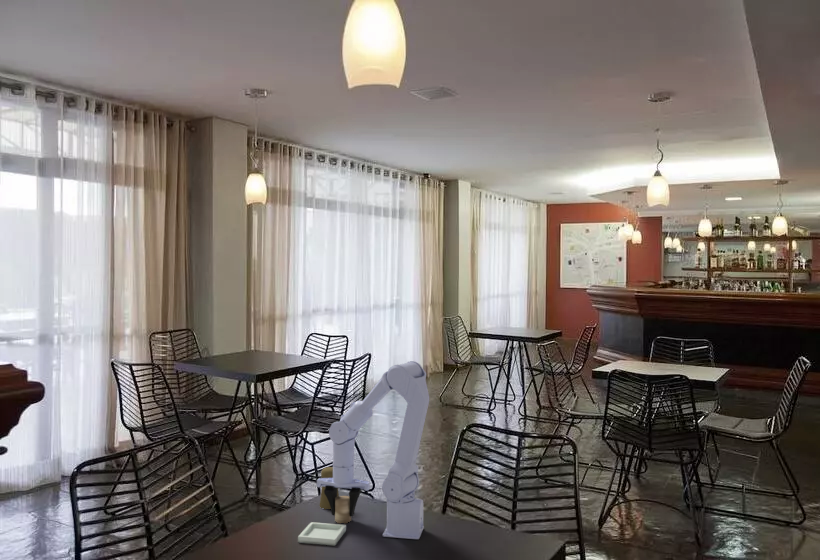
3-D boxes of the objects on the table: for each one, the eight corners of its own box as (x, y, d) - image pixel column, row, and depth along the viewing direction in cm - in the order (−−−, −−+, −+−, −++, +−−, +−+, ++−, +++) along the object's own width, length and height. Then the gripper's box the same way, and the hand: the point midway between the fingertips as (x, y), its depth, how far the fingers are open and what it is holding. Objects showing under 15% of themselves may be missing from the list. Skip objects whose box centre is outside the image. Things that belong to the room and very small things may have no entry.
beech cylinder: (353, 518, 174) (353, 496, 174) (348, 524, 170) (348, 501, 170) (337, 516, 175) (337, 495, 175) (332, 522, 171) (333, 500, 171)
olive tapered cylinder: (338, 509, 181) (339, 471, 181) (317, 509, 181) (317, 470, 181) (341, 502, 187) (341, 465, 187) (321, 502, 187) (321, 464, 187)
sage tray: (346, 530, 165) (346, 524, 165) (335, 545, 156) (335, 539, 156) (311, 527, 167) (311, 522, 167) (297, 542, 158) (298, 536, 158)
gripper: (372, 462, 175) (372, 511, 175) (322, 459, 178) (322, 507, 178) (366, 469, 168) (366, 520, 168) (314, 466, 171) (314, 516, 171)
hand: (343, 514), depth 173 cm, fingers closed on beech cylinder, 4 cm apart
